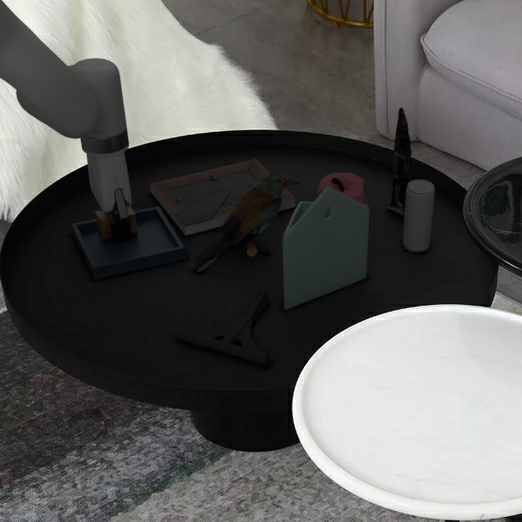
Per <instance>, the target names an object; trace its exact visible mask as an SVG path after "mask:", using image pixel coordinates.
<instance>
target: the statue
mask: <svg viewBox="0 0 522 522" xmlns="http://www.w3.org/2000/svg"><path fill="white" fill-rule="evenodd" d="M409 130H410V129H409V123H408V119H407V116H406V113H405V110H404V108H403V107H402V106H401V107H399V109H398V113H397V122H396V129H395V137H394V145H393V146H394V147H393V164H392V167H393V169H392V185H391V186H392V189H391V199H390V203H389V204H388V205H387V206H386V211H387V212H388V213H390V214H393V215H395V216H397V217H399V218H401V219H403V220H404V215H405V202H406V189H407V187H408V183H409V182H411V181H413V179H412V171H411V165H412V154H413V153H412V149H411V147H412V141H411V137H410V133H409Z"/></svg>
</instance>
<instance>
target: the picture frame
mask: <svg viewBox="0 0 522 522" xmlns="http://www.w3.org/2000/svg"><path fill="white" fill-rule="evenodd" d="M271 173H272V172H270V171H269V169H267V168H266V167H265V166H264V165H263V163H261V162H260V161H259V159H258V158H253V159H249V160H244V161H241V162H236V163H233V164H229V165H224V166H220V167H216V168H210V169H207V170H203V171H198V172H194V173H190V174H186V175H182V176H177V177H173V178H169V179H165V180H160V181H155V182H151V183H149V187H150V193H151V194H152V195H153V197H154V198H155V200H156V201H157V202H158V203H159V204H160V206H161V207H162V208H163V209H164V211H165V212H166V214H168V216H169V217H170V218H171V219H172V221H173V222H174V223H175V225H176V226H177V227H178V228H179V230H180V231H181V232H182V233H183V234H184V236H185V237H187V236H190V235H191V236H192V235H196V234H198V233H203V232H206V231H207V232H208V231H211V230H214V229H218V228H219V229H220V228H221V226H222V225H223V223H224V222H225V221H226V219H227V218H228V217H229V216H230V214H231V213H232V212H233V210H234V209H235V208H236V207H237V206H238V204H239V203H240V201H241V200H242V199H243V198H244V197H245V196H246V194H247V193H248V192H249V191H251V190H252V189H253V188H255V187H256V186H258V185H259V184H260V183H261V182H262V181H263V180H264V179H265V178H267V177H268V176H269V175H270V174H271ZM281 199H282V202H281V206H280V208H279V211H278V213H279V212H280V213H281V212H284V211H287V210H292V209H294V208H295V209H296V207H297V204H296V200H297V199H296V197H295V196H294V194H292V193H291V192H290V191H289V190H288V189H287V187H286V188H285V189H284V191H283V192H282V194H281Z"/></svg>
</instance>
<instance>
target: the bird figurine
mask: <svg viewBox="0 0 522 522" xmlns="http://www.w3.org/2000/svg"><path fill="white" fill-rule="evenodd" d="M270 173H271V174H270V175H269V176H268V177H267V178H265V179H264V180H263V181H262V182H261V183H260V184H259V185H258V186H256V187H255V188H253V189H252V190H251V191H249V192H248V193H247V194H246V196H245V197H244V198H243V199H242V200H241V201H240V203H239V204H238V206H237V207H236V208H235V209H234V210H233V212H232V213H231V214H230V216H229V217H228V218H227V219H226V221H225V222H224V223H223V225H222V226H221V227H219V232H220V234H219V235H217V237H215V239H213V240H212V241H211V242H210V243H208V244H207V246H205V247H204V248H203V249H202V250H201V251H200V252H199V253H198V254H197V255H196V257H195V259H194V261H193V262H192V264H191V265H190V268H191V269H193V270H195V271H196V272H197V273H200V272H203V271H204V270H205V269H206V268H207V267H209V266H210V265H212V263H213V262H216V261H218V260H219V259H221V258H222V257H225V255H227V254H229V253H231V252H234V251H235V250H237V249H238V248H240V247H242V246H245V251H246V255H247V256H248V257H251V258H252V257H255V256H256V255H257V254H258V252H260V253H264V254H267V253H269V250H270V249H269V247H268V246H267V245H266V244H265V243H263V244H261V243H259V242H257V241H256V240H255V239H254V238H255V237H257V236H258V235H260V234H261V233H262V232H264V230H266V229H267V228H268V226H269V225H271V224H272V222H274V220H275V219H276V218H277V215H278V213H279V212H278V211H279V208H280V206H281V202H282V199H281V194H282V192H283V191H284V189H285V188H286V189H287V187H290V186H295V185H301V186H303V183H301V181H298V180H296V179H294V178H291V177H290V176H289V175H287V174H286V173H282V172H281V171H273V172H270Z"/></svg>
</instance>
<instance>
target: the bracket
mask: <svg viewBox="0 0 522 522" xmlns="http://www.w3.org/2000/svg"><path fill="white" fill-rule="evenodd" d="M268 301H269V294H268V292H265V291H262V290H258V291H256V293H255V295H254V297H253V298H252V299H251V302H250V303H249V305H248V306H247V309H246V310H245V311H244V313H243V314H242V315H241V316H240V317H239V318H237V319H236V320H234V321H232V322H230V323H229V324H227V325H224V326H222V327H217V328H214V329H213V328H212V329H207V330H189V331H188V330H185V329H181V330H180V332H179V335H178V339H179V341H182V342H185V343H187V344H188V343H189V344H192V345H194V346H195V345H196V346H199V347H202V348H206V349H209V350H212V351H215V352H219V353H222V354H225V355H228V356H232V357H235V358H239V359H243V360H245V361H249V362H252V363H255V364H258V365H259V364H260V365H262V366H267V365H268V364H269V360H270V355H269V354H267V353H266V352H264V351H263V350H262V349H261V348H260V347H259V346H258V345H257V344H256V343H255V341H254V339H253V337H252V334H251V327H252V324H253V322H254V321H255V320H256V318H257V317H259V315H260V314H261V313H262V312H263V310H264V309H265V307H266V306H267V304H268ZM219 338H221V339H220V340H219ZM237 342H239V343H240V344H241V346H239V345H236V343H237Z"/></svg>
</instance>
